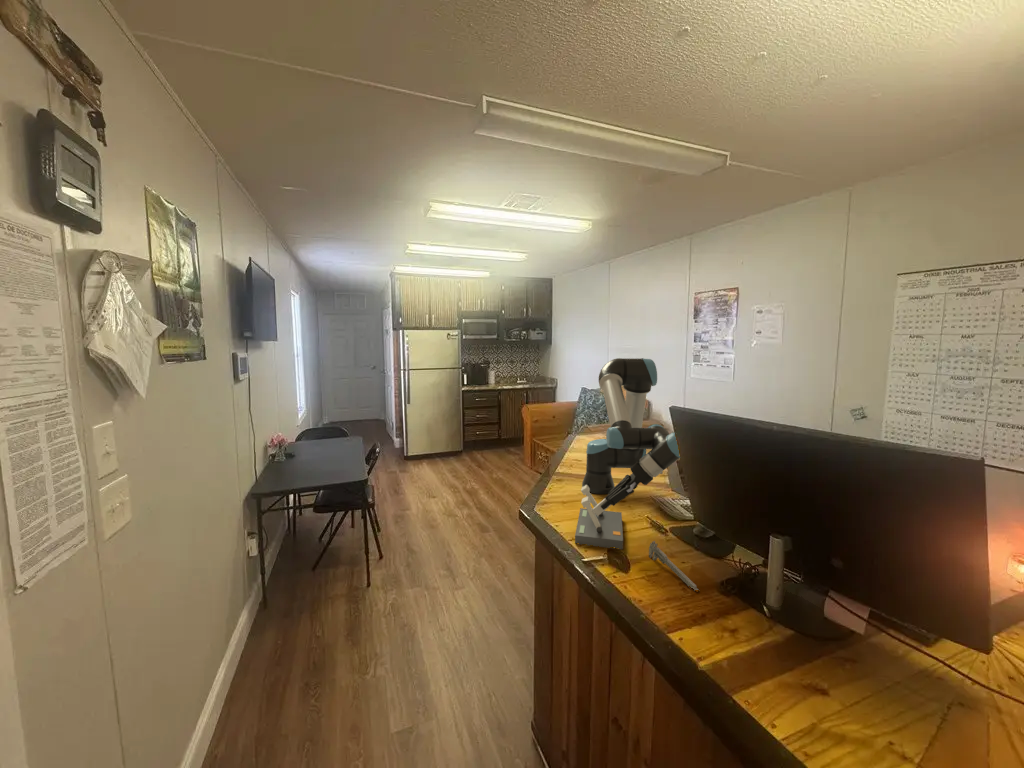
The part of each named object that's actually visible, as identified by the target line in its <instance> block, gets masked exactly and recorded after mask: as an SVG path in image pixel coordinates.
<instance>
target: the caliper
mask: <svg viewBox="0 0 1024 768" xmlns="http://www.w3.org/2000/svg"><path fill="white" fill-rule="evenodd" d="M648 558H650V559H651V558H652V561H653V560H654V561H657V559H658V560H659V561H660V562H661V564H662V565H664V564H665V565H666V566H667V567H668V568H669V569H670V570H671V571H672V572H673V573H675V575H676V576H678V578H680V579H681V581H682V582H683V583H685V584H686V586H687V587H689V586H690V587H691V588H693V589H694V590H693V591H695V590H699V588H697V584H695V583H694V582H693V581H692V580H691V579H690V578H689V577H688V575H686V574H685V573H684V572H683V571H682V570H681V569H680V568H678V566H677V565H676V564H674V562H672V561H671V560H670V559H669V558H668V556H667V554H666V553H665V552H664V551H663V550H661V548H659V547H658V543H656V540H654V541H651V543H650V544H649V548H648ZM690 587H689V588H690ZM691 588H690V589H691Z"/></svg>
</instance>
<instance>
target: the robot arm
mask: <svg viewBox="0 0 1024 768" xmlns="http://www.w3.org/2000/svg"><path fill="white" fill-rule="evenodd" d="M657 384H658V368H657V365H656V363H655V361H654V360H653V359H651V358H644V357H643V358H620V357H619V358H613V359H611V360H609V361H607V363H605V364H604V365H603V367H602V369H600V372H599V374H598V385H599V388H600V389H601V390H602V392H603V397H604V402H605V407H606V408H605V409H606V412H607V417H608V421H609V425H610V427H607V429H606V433H605V438H606V439H605V438H599V439H593V440H591V441H589V442H588V443H587V444H586V464H585V465H586V466H585V468H586V470H585V471H586V472H585V474H584V477H583V479H582V483H581V485H582V486H581V488H582V487H583V486H585V485H588V487H589V488H590V491H589V492H591V494H594V495H595V494H596V495H606V496H605V497H604V498H603V500H601V501H599V502H598V503H597V505H596V506H595V507H594V506H593V508H592V510H593V512H594V513H595V514H596V515H597V516H599V515H600V514H601V513H602V512H603V511H607V509H608V508H610V507H611V506H613V507H614V506H616V505H617V504H618V503H620V502H621V501H622V500H624V499H625V498H627V497H629V495H632V494H634V493H635V489H637V488H638V485H640V484H642V485H644V486H647V485H648V484H649V483H650V482H652V481H653V480H654V478H656V477H657V476H659V475H662V474H663V473H664V472H663V471H665V470H666V469H667V468H669V467H670V466H671V465H673V464H674V463H675V462H676V461H677V460H679V459H680V458H681V457H680V456H679V450H678V445H677V441H676V437H675V433H676V432H671V433H669V431H668V430H667V429H666V428H664V426H662V425H661V424H657V423H654V424H651V425H648V426H647V427H643V423H644V422H643V421H644V417H645V416H644V415H645V406H646V402H647V401H646V399H647V394H648V393H650V392H651V391H652V390H651V389H652V387H654V386H656V385H657ZM622 386H623V387H622ZM623 389H624V390H625V391H626V393H625V394H624V391H623ZM647 450H649V451H647ZM616 468H617V469H630V472H631V473H630V474H626V475H625V476H624V477H623V478H622V479H620V481H619V482H618V483H617V484H616V485H615V483H614V479H613V476H612V469H616Z"/></svg>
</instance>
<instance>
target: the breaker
mask: <svg viewBox="0 0 1024 768" xmlns="http://www.w3.org/2000/svg"><path fill="white" fill-rule="evenodd" d="M589 491H590V488H589V487H588V485H585V486H583V487H582V486H581V489H580V492H581V493H582V495H583V496H585V497H587V496H588V497H589V499H590V501H591V503H590V504H591V506H592V507H593V508H594V507H595V506H596V505H597V504H598V503H597V501H596V499H595V498H594V496H593V495H592V493H590V492H589ZM602 515H603V512H602V513H601V514H600V515H599V516H600V517H601V516H602Z"/></svg>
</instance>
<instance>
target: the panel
mask: <svg viewBox="0 0 1024 768" xmlns="http://www.w3.org/2000/svg"><path fill="white" fill-rule="evenodd" d="M578 513H579V514H578V518H577V519H578V520H577V523H576V529H575V534H574V544H575V543H579V544H578V545H582V544H587V545H586V546H590V545H593V546H592V547H598V546H599V547H600V548H607V549H611V548H610V547H615V548H619V549H618V550H623V549H624V535H623V533H624V532H623V517H622V512H621V511H613V510H612V511H611V510H610V511H609V510H605V511H603V515H602V516H601V517H600V516H597V515H596V514H595V515H596V517H597V519H598V521H599V523H600V524H601V525H602V532H601V533H598V532H597V528H596V526H595V524H594V522H593V521H592V519H591V517H590V515H589V513H588V511H587V509H586V508H584V507H583V508H582V507H581V508H580V509H579V512H578ZM615 548H614V549H615Z"/></svg>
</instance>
